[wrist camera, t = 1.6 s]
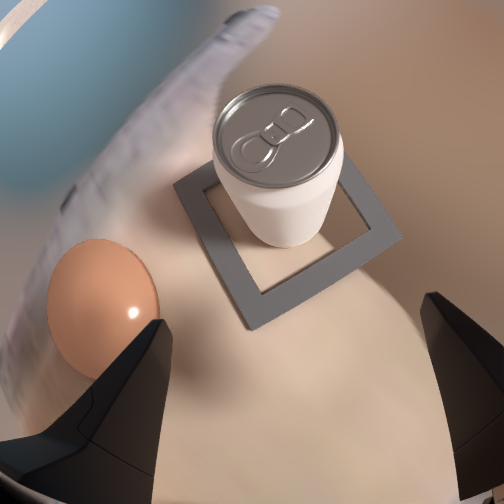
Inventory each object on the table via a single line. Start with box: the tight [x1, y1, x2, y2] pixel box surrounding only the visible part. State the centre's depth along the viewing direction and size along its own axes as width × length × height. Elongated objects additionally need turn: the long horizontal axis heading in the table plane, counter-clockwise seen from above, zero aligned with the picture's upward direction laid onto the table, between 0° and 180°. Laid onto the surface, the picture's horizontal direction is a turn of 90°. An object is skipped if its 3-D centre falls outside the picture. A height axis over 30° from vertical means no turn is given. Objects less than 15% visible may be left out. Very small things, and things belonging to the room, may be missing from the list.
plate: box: [47, 239, 160, 380], centre depth 24 cm, size 13×13×1 cm
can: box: [213, 84, 344, 248], centre depth 18 cm, size 6×6×12 cm
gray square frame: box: [173, 150, 403, 331], centre depth 24 cm, size 14×14×1 cm
